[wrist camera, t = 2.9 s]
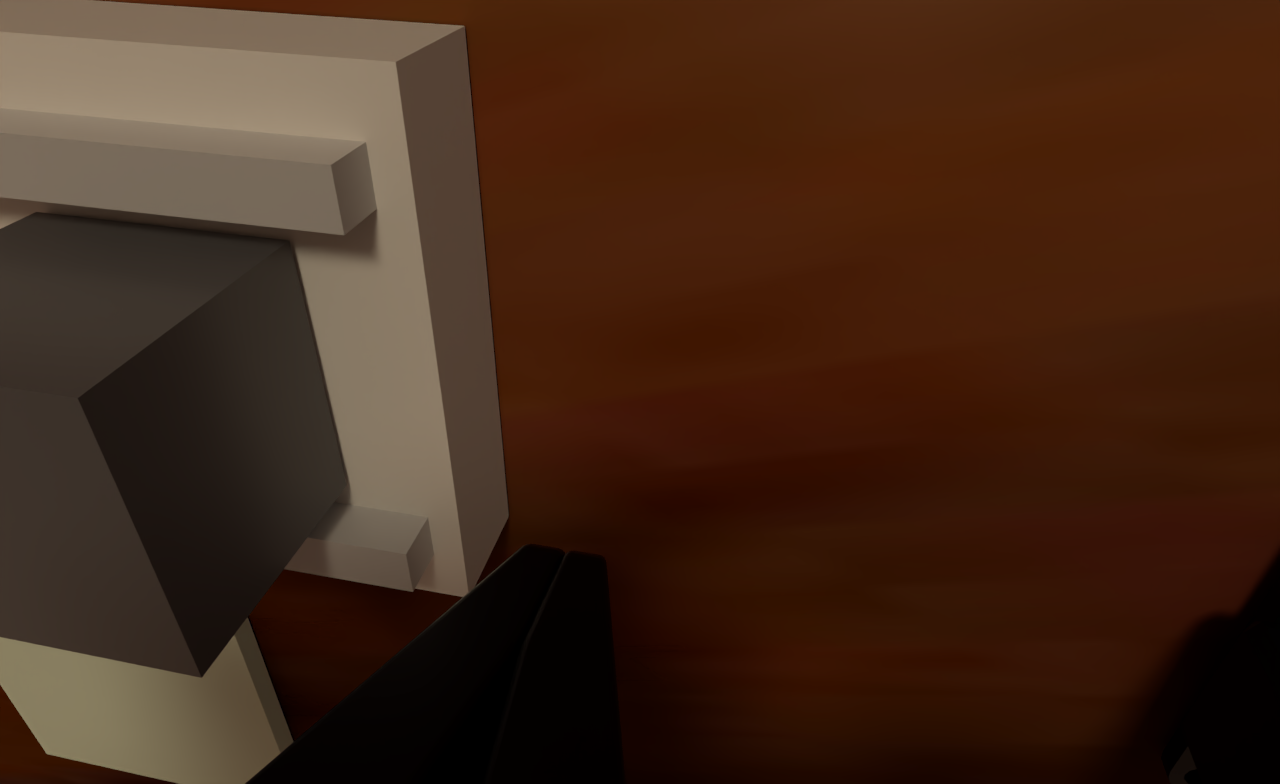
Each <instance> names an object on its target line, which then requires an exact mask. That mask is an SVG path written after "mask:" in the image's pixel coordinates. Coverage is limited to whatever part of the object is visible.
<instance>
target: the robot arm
mask: <svg viewBox="0 0 1280 784" xmlns="http://www.w3.org/2000/svg"><path fill="white" fill-rule="evenodd" d="M1161 759H1162V762H1163V765H1164V767H1165V770H1166V773H1167V776H1168V779H1169V781H1170V783H1171V784H1280V577H1279V578H1278V580H1277V581H1276V583H1275V584H1274V586H1273V587H1272V589H1271V590H1270V592H1269V593H1268V595H1267V596H1266V598H1265V599H1264V601H1263V602H1262V604H1261V605H1260V607H1259V608H1258V610H1257V611H1256V613H1255V614H1254V616H1253V617H1252V619H1251V620H1250V622H1249V623H1248V625H1247V626H1246V628H1245V629H1244V631H1243V632H1242V633H1241V634H1240V635H1239V637H1238V638H1237V640H1236V641H1235V643H1234V644H1233V646H1232V647H1231V649H1230V650H1229V652H1228V653H1227V655H1226V656H1225V658H1224V659H1223V661H1222V662H1221V664H1220V665H1219V667H1218V668H1217V670H1216V671H1215V673H1214V674H1213V676H1212V677H1211V679H1210V680H1209V682H1208V683H1207V685H1206V686H1205V688H1204V689H1203V691H1202V692H1201V694H1200V695H1199V697H1198V698H1197V700H1196V701H1195V703H1194V704H1193V706H1192V707H1191V709H1190V710H1189V712H1188V713H1187V715H1186V716H1185V718H1184V719H1183V721H1182V723H1181V725H1180V727H1179V728H1178V730H1177V731H1176V733H1175V734H1174V736H1173V737H1172V739H1171V740H1170V742H1169V743H1168V745H1167V746H1166V748H1165V749H1164V751H1163V753H1162V757H1161ZM245 784H626V783H625V771H624V760H623V748H622V737H621V726H620V714H619V703H618V691H617V680H616V668H615V657H614V645H613V634H612V622H611V611H610V599H609V588H608V576H607V565H606V560H605V558H604V557H603V556H601V555H596V554H590V553H584V552H578V551H569V552H567V553H566V554H565V552H564V551H563V550H561V549H559V548H554V547H548V546H542V545H536V544H527V545H525V546H523V547H521V548H520V549H519V550H517V551H516V552H515V553H514V554H513V555H512V556H510V557H509V558H508V559H507V560H506V561H505V562H503V563H502V564H501V565H500V566H499V567H498V568H496V569H495V570H494V571H493V572H492V573H491V574H489V575H488V576H487V577H486V578H485V579H484V580H482V581H481V582H480V583H479V584H478V585H476V586H475V587H474V588H473V589H472V590H471V591H469V592H468V593H467V594H466V595H465V596H464V597H462V598H461V599H460V600H459V601H458V602H457V603H455V604H454V605H453V606H452V607H451V608H450V609H448V610H447V611H446V612H445V613H444V614H443V615H441V616H440V617H439V618H438V619H437V620H436V621H434V622H433V623H432V624H431V625H430V626H429V627H427V628H426V629H425V630H424V631H423V632H422V633H420V634H419V635H418V636H417V637H416V638H415V639H413V640H412V641H411V642H410V643H409V644H408V645H406V646H405V647H404V648H403V649H402V650H400V651H399V652H398V653H397V654H396V655H395V656H393V657H392V658H391V659H390V660H389V661H388V662H386V663H385V664H384V665H383V666H382V667H381V668H379V669H378V670H377V671H376V672H375V673H374V674H372V675H371V676H370V677H369V678H368V679H367V680H365V681H364V682H363V683H362V684H361V685H360V686H358V687H357V688H356V689H355V690H354V691H353V692H351V693H350V694H349V695H348V696H347V697H346V698H344V699H343V700H342V701H341V702H340V703H339V704H337V705H336V706H335V707H334V708H333V709H332V710H330V711H329V712H328V713H327V714H326V715H325V716H323V717H322V718H321V719H320V720H319V721H317V722H316V723H315V724H314V725H313V726H312V727H310V728H309V729H308V730H307V731H306V732H305V733H303V734H302V735H301V736H300V737H299V738H298V739H296V740H295V741H294V742H293V743H292V744H291V745H289V746H288V747H287V748H286V749H285V750H284V751H282V752H281V753H280V754H279V755H278V756H277V757H275V758H274V759H273V760H272V761H271V762H270V763H268V764H267V765H266V766H265V767H264V768H263V769H261V770H260V771H259V772H258V773H257V774H256V775H254V776H253V777H252V778H251V779H250V780H249V781H247V782H246V783H245Z"/></svg>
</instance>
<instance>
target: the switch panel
mask: <svg viewBox="0 0 1280 784" xmlns="http://www.w3.org/2000/svg"><path fill="white" fill-rule="evenodd" d="M35 212H42V213H51V214H60V215H69V216H78V217H87V218H95V219H104V220H113V221H122V222H131V223H140V224H148V225H157V226H166V227H175V228H184V229H193V230H202V231H210V232H219V233H228V234H237V235H246V236H255V237H263V238H272V239H281V240H289V241H290V245H291V250H292V254H293V258H294V262H295V267H296V271H297V275H298V279H299V284H300V288H301V292H302V296H303V301H304V305H305V309H306V314H307V318H308V322H309V326H310V331H311V335H312V339H313V343H314V348H315V352H316V356H317V360H318V365H319V369H320V373H321V378H322V382H323V386H324V390H325V395H326V399H327V403H328V407H329V412H330V416H331V420H332V424H333V429H334V433H335V437H336V442H337V446H338V450H339V454H340V459H341V463H342V467H343V471H344V476H345V480H346V484H347V486H346V487H345V488H344V490H343V491H342V492H341V494H340V495H339V496H338V498H337V499H336V500H335V502H334V503H333V504H332V506H331V507H330V508H329V510H328V511H327V512H326V514H325V515H324V516H323V518H322V519H321V520H320V522H319V523H318V524H317V526H316V527H315V528H314V530H313V531H312V532H311V533H310V535H309V536H308V537H307V539H306V540H305V541H304V543H303V544H302V545H301V547H300V548H299V549H298V551H297V552H296V553H295V555H294V556H293V557H292V559H291V560H290V561H289V563H288V564H287V565H286V567H285V568H284V569H287V570H292V571H298V572H304V573H309V574H315V575H320V576H326V577H332V578H337V579H343V580H349V581H354V582H360V583H365V584H371V585H377V586H382V587H388V588H394V589H399V590H405V591H410V592H413V591H414V589H421V590H426V591H432V592H438V593H443V594H449V595H454V596H460V597H464V596H465V595H466V594H467V593H468V592H469V591H471V590H472V589H473V588H474V587H475V585H476V583H477V581H478V579H479V577H480V575H481V573H482V571H483V569H484V567H485V564H486V562H487V560H488V558H489V556H490V554H491V552H492V550H493V548H494V546H495V544H496V542H497V540H498V538H499V535H500V533H501V531H502V529H503V527H504V525H505V523H506V521H507V519H508V517H509V512H508V501H507V490H506V479H505V468H504V457H503V446H502V434H501V423H500V412H499V401H498V390H497V379H496V368H495V357H494V345H493V334H492V323H491V312H490V301H489V290H488V279H487V267H486V256H485V245H484V234H483V223H482V212H481V201H480V189H479V178H478V167H477V156H476V145H475V134H474V123H473V112H472V100H471V89H470V78H469V67H468V56H467V45H466V34H465V26H459V25H444V24H430V23H415V22H400V21H386V20H371V19H357V18H342V17H327V16H313V15H298V14H284V13H269V12H254V11H240V10H225V9H211V8H196V7H182V6H167V5H152V4H138V3H123V2H109V1H94V0H0V229H1V228H3V227H5V226H7V225H10V224H12V223H14V222H16V221H18V220H20V219H22V218H24V217H26V216H29V215H31V214H33V213H35Z"/></svg>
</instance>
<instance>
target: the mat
mask: <svg viewBox="0 0 1280 784" xmlns="http://www.w3.org/2000/svg"><path fill="white" fill-rule="evenodd" d="M0 685H1V686H2V688H3V689H4V691H5V692H6V694H7V695H8V697H9V698H10V700H11V701H12V703H13V704H14V706H15V707H16V709H17V710H18V712H19V713H20V715H21V716H22V718H23V719H24V721H25V722H26V724H27V725H28V727H29V728H30V730H31V731H32V733H33V734H34V736H35V737H36V739H37V740H38V742H39V743H40V745H41V746H42V748H43V749H44V751H45V752H46V754H49V755H54V756H58V757H63V758H67V759H72V760H76V761H81V762H85V763H90V764H94V765H98V766H103V767H107V768H112V769H116V770H121V771H125V772H130V773H134V774H138V775H143V776H147V777H152V778H156V779H161V780H165V781H170V782H174V783H179V784H245V783H246V782H247V781H249V780H250V779H251V778H252V777H253V776H254V775H256V774H257V773H258V772H259V771H260V770H261V769H263V768H264V767H265V766H266V765H267V764H268V763H270V762H271V761H272V760H273V759H274V758H275V757H277V756H278V755H279V754H280V753H281V752H282V751H284V750H285V749H286V748H287V747H288V746H289V745H291V744H292V743H293V739H292V736H291V734H290V731H289V728H288V726H287V723H286V720H285V717H284V715H283V712H282V709H281V707H280V704H279V701H278V698H277V696H276V693H275V690H274V688H273V685H272V682H271V679H270V677H269V674H268V671H267V669H266V666H265V663H264V660H263V658H262V655H261V652H260V650H259V647H258V644H257V641H256V639H255V636H254V633H253V631H252V628H251V625H250V622H249V620H248V617H247V619H246V620H245V621H244V622H243V624H242V625H241V626H240V628H239V629H238V630H237V632H236V633H235V634H234V636H233V637H232V638H231V640H230V641H229V642H228V644H227V645H226V646H225V648H224V649H223V650H222V652H221V653H220V654H219V656H218V657H217V658H216V660H215V661H214V662H213V664H212V665H211V666H210V668H209V669H208V670H207V672H206V673H205V674H204V676H203V677H202V678H200V677H195V676H190V675H185V674H180V673H175V672H170V671H165V670H160V669H155V668H150V667H146V666H141V665H136V664H131V663H126V662H121V661H116V660H111V659H106V658H101V657H96V656H91V655H86V654H81V653H76V652H71V651H67V650H62V649H57V648H52V647H47V646H42V645H37V644H32V643H27V642H22V641H17V640H12V639H7V638H2V637H0Z"/></svg>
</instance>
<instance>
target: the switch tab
mask: <svg viewBox="0 0 1280 784" xmlns="http://www.w3.org/2000/svg"><path fill="white" fill-rule="evenodd" d="M346 486H347V484H346V480H345V476H344V471H343V467H342V463H341V459H340V454H339V450H338V446H337V442H336V437H335V433H334V429H333V424H332V420H331V416H330V412H329V407H328V403H327V399H326V395H325V390H324V386H323V382H322V378H321V373H320V369H319V365H318V360H317V356H316V352H315V348H314V343H313V339H312V335H311V331H310V326H309V322H308V318H307V314H306V309H305V305H304V301H303V296H302V292H301V288H300V284H299V279H298V275H297V271H296V267H295V262H294V258H293V254H292V250H291V245H290V241H289V240H281V239H272V238H263V237H255V236H246V235H237V234H228V233H219V232H210V231H202V230H193V229H184V228H175V227H166V226H157V225H148V224H140V223H131V222H122V221H113V220H104V219H95V218H87V217H78V216H69V215H60V214H51V213H42V212H35V213H33V214H31V215H29V216H26V217H24V218H22V219H20V220H18V221H16V222H14V223H12V224H10V225H7V226H5V227H3V228H1V229H0V637H2V638H7V639H12V640H17V641H22V642H27V643H32V644H37V645H42V646H47V647H52V648H57V649H62V650H67V651H71V652H76V653H81V654H86V655H91V656H96V657H101V658H106V659H111V660H116V661H121V662H126V663H131V664H136V665H141V666H146V667H150V668H155V669H160V670H165V671H170V672H175V673H180V674H185V675H190V676H195V677H200V678H202V677H203V676H204V674H205V673H206V672H207V670H208V669H209V668H210V666H211V665H212V664H213V662H214V661H215V660H216V658H217V657H218V656H219V654H220V653H221V652H222V650H223V649H224V648H225V646H226V645H227V644H228V642H229V641H230V640H231V638H232V637H233V636H234V634H235V633H236V632H237V630H238V629H239V628H240V626H241V625H242V624H243V622H244V621H245V620H246V619H247V617H248V616H249V615H250V613H251V612H252V611H253V609H254V608H255V607H256V605H257V604H258V603H259V601H260V600H261V599H262V597H263V596H264V595H265V593H266V592H267V591H268V589H269V588H270V587H271V585H272V584H273V583H274V581H275V580H276V579H277V577H278V576H279V575H280V573H281V572H282V571H283V569H284V568H285V567H286V565H287V564H288V563H289V561H290V560H291V559H292V557H293V556H294V555H295V553H296V552H297V551H298V549H299V548H300V547H301V545H302V544H303V543H304V541H305V540H306V539H307V537H308V536H309V535H310V533H311V532H312V531H313V530H314V528H315V527H316V526H317V524H318V523H319V522H320V520H321V519H322V518H323V516H324V515H325V514H326V512H327V511H328V510H329V508H330V507H331V506H332V504H333V503H334V502H335V500H336V499H337V498H338V496H339V495H340V494H341V492H342V491H343V490H344V488H345V487H346Z"/></svg>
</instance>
